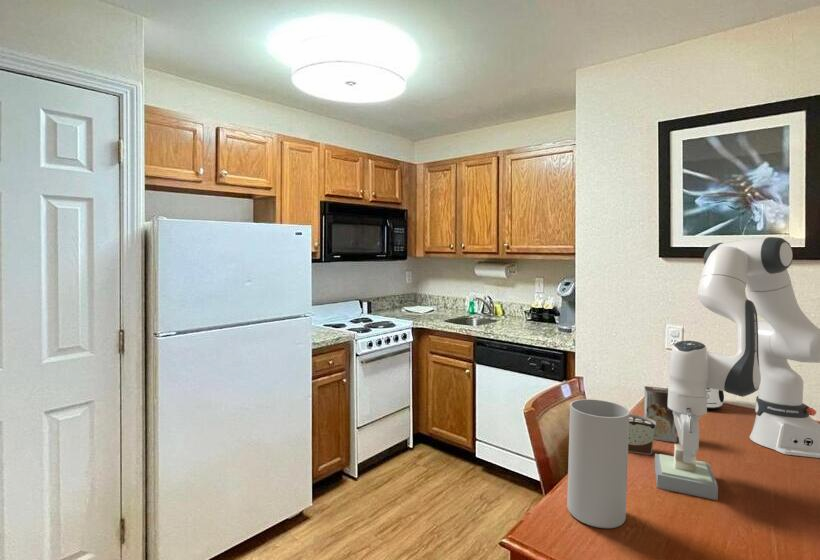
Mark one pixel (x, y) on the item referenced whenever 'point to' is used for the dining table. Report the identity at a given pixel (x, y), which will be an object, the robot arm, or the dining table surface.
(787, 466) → the dining table surface
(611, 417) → the cylinder vase
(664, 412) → the coffee box
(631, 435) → the food container
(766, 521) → the dining table surface
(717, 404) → the milk container
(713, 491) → the base
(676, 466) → the cream block
